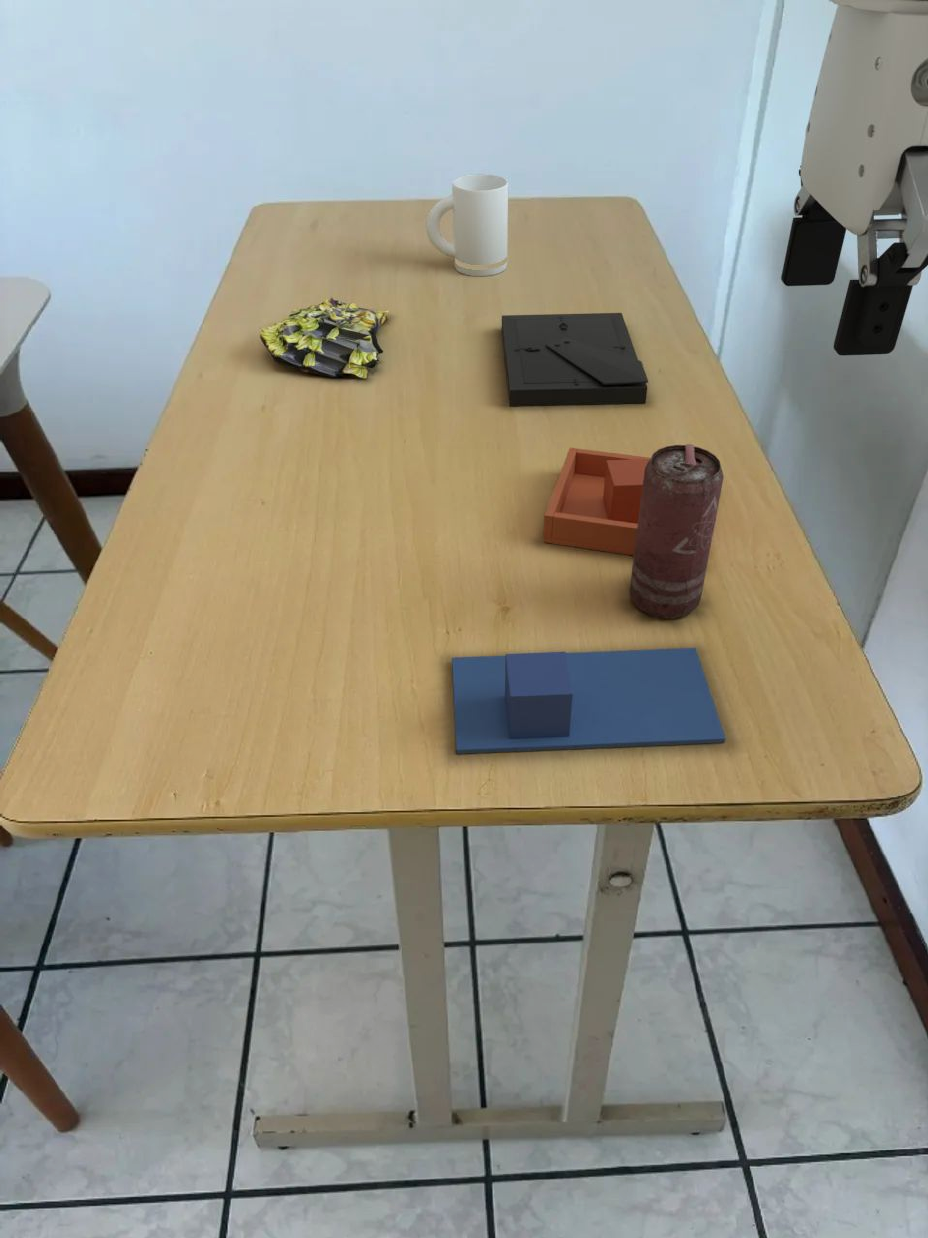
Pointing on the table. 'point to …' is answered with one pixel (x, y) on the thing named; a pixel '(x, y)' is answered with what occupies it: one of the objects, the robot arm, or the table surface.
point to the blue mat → (595, 702)
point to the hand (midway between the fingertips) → (832, 315)
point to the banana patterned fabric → (327, 339)
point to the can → (675, 530)
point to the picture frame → (571, 360)
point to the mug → (474, 223)
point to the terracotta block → (624, 489)
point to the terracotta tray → (586, 506)
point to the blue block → (538, 695)
